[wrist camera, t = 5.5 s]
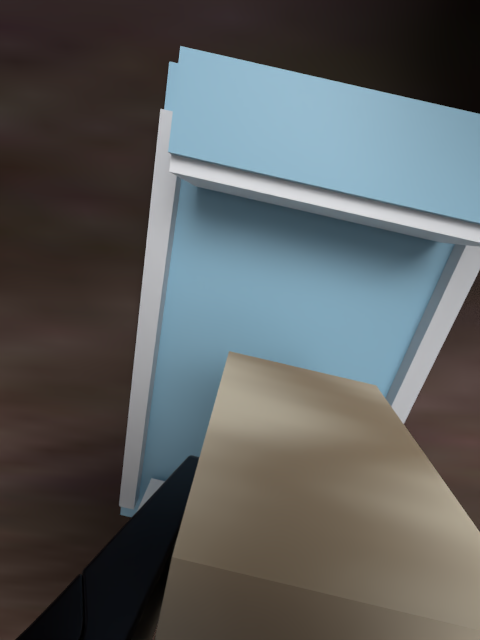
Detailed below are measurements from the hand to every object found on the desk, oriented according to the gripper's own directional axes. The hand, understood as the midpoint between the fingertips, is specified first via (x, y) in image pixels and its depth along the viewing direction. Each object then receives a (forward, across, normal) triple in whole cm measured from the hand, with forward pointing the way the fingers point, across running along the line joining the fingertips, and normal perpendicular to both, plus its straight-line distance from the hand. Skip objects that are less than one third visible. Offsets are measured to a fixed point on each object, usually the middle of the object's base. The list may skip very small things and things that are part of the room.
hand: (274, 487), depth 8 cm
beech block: (+1, 0, 0) cm, 1 cm away
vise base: (+6, 0, 0) cm, 6 cm away
